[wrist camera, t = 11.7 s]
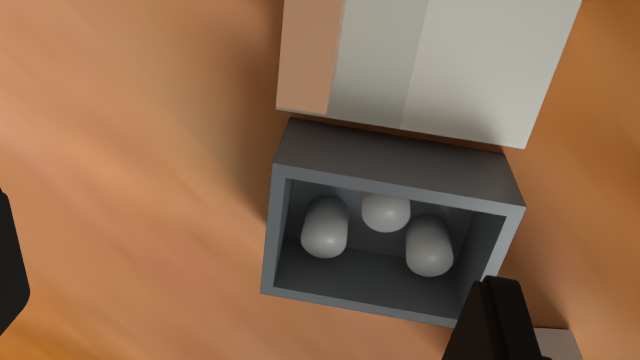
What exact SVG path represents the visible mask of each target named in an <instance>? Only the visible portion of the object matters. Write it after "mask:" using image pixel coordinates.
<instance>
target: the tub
mask: <svg viewBox="0 0 640 360" xmlns="http://www.w3.org/2000/svg"><path fill="white" fill-rule="evenodd" d="M526 208H527V207H526V204H525V202H524V200H523V197H522V195H521V192H520V190H519V188H518V185H517V183H516V180H515V178H514V176H513V173H512V171H511V168H510V166H509V164H508V161H507V159H506V156H505V154H501V153H495V152H490V151H484V150H478V149H472V148H466V147H460V146H455V145H449V144H443V143H437V142H431V141H425V140H420V139H414V138H408V137H402V136H396V135H391V134H385V133H379V132H373V131H367V130H361V129H356V128H350V127H344V126H338V125H332V124H326V123H321V122H315V121H309V120H303V119H297V118H292V117H290V119H289V122H288V124H287V127H286V129H285V132H284V135H283V137H282V140H281V142H280V145H279V148H278V150H277V153H276V156H275V158H274V161H273V164H272V175H271V185H270V195H269V205H268V215H267V226H266V236H265V246H264V256H263V266H262V277H261V287H260V294H265V295H271V296H276V297H282V298H288V299H293V300H299V301H304V302H310V303H315V304H321V305H327V306H332V307H338V308H343V309H349V310H354V311H360V312H366V313H371V314H377V315H382V316H388V317H393V318H399V319H405V320H410V321H416V322H421V323H427V324H432V325H438V326H443V327H449V328H455V325H456V323H457V320H458V318H459V316H460V313H461V311H462V308H463V306H464V303H465V301H466V298H467V296H468V293H469V291H470V288H471V286H472V284H473V282H474V281H483V279H484V277H485V276H486V275H491V276H497V274H498V272H499V269H500V267H501V265H502V262H503V260H504V258H505V256H506V253H507V251H508V249H509V246H510V244H511V242H512V240H513V237H514V235H515V233H516V230H517V228H518V226H519V224H520V221H521V219H522V217H523V214H524V212H525V210H526Z"/></svg>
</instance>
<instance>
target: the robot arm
mask: <svg viewBox="0 0 640 360" xmlns="http://www.w3.org/2000/svg"><path fill="white" fill-rule="evenodd" d="M29 296H30V288H29V283H28V279H27V275H26V271H25V266H24V262H23V258H22V254H21V249H20V245H19V241H18V237H17V233H16V228H15V224H14V220H13V216H12V211H11V207H10V203H9V199H8V196H7V195H6V194H5V193H2V190H1V188H0V336H1V335H2V333H3V332H4V331H5V330H6V329H7V327H8V326H9V325H10V324H11V323H12V322H13V320H14V319H15V318H16V317H17V316H18V314H19V313H20V312H21V311H22V310H23V309H24V307H25V306H26V304H27V302H28V299H29ZM442 360H552V359H551V358H549V357H545V356H542V354H541V351H540V348H539V345H538V341H537V338H536V335H535V332H534V328H533V325H532V322H531V319H530V316H529V312H528V309H527V306H526V303H525V299H524V296H523V293H522V290H521V286H520V284H519V282H518V281H516V280H512V279H507V278H501V277H496V276H491V275H486V276H485V277H484V279H483V281H474V282H473V284H472V286H471V288H470V291H469V293H468V296H467V298H466V301H465V303H464V306H463V308H462V311H461V313H460V316H459V318H458V320H457V323H456V325H455V328H454V330H453V333H452V335H451V338H450V340H449V343H448V345H447V348H446V350H445V353H444V355H443V358H442Z"/></svg>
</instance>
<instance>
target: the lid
mask: <svg viewBox="0 0 640 360" xmlns="http://www.w3.org/2000/svg"><path fill="white" fill-rule="evenodd" d="M581 2H582V0H284V12H283V24H282V36H281V49H280V61H279V73H278V86H277V98H276V110H282V111H288V112H294V113H301V114H307V115H313V116H320V117H326V118H332V119H338V120H345V121H351V122H357V123H363V124H370V125H376V126H382V127H389V128H395V129H401V130H407V131H414V132H420V133H426V134H433V135H439V136H445V137H451V138H458V139H464V140H470V141H476V142H483V143H489V144H495V145H502V146H508V147H514V148H520V149H525V147H526V144H527V141H528V139H529V136H530V134H531V131H532V129H533V126H534V123H535V121H536V118H537V116H538V113H539V111H540V108H541V105H542V103H543V100H544V98H545V95H546V92H547V90H548V87H549V85H550V82H551V80H552V77H553V74H554V72H555V69H556V67H557V64H558V62H559V59H560V56H561V54H562V51H563V49H564V46H565V44H566V41H567V38H568V36H569V33H570V31H571V28H572V26H573V23H574V20H575V18H576V15H577V13H578V10H579V8H580V5H581Z"/></svg>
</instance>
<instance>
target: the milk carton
mask: <svg viewBox="0 0 640 360" xmlns="http://www.w3.org/2000/svg"><path fill="white" fill-rule="evenodd" d="M534 332H535V335H536V338H537V341H538V345H539V348H540V351H541V354H542V356H545V357H549V358H551V359H552V360H583V357H582V355H581V352H580V350H579V347H578V345H577V342H576V340H575V337H574V335H573V333H572V331H571V330H562V329H547V328H534Z"/></svg>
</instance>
